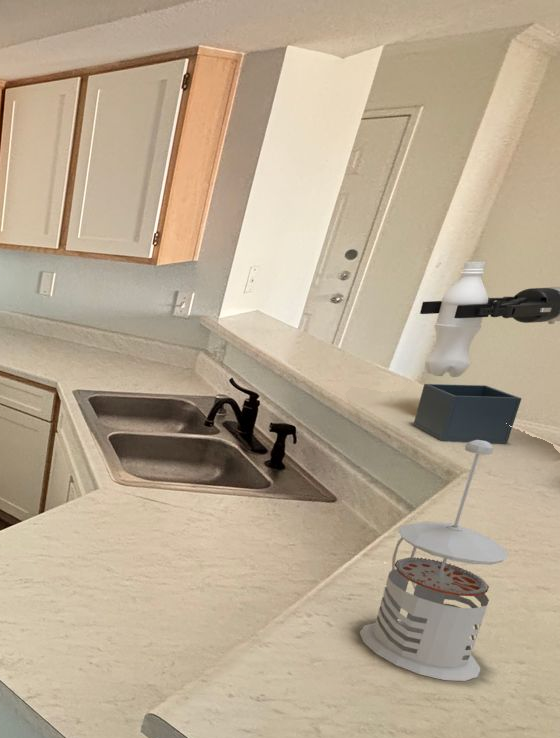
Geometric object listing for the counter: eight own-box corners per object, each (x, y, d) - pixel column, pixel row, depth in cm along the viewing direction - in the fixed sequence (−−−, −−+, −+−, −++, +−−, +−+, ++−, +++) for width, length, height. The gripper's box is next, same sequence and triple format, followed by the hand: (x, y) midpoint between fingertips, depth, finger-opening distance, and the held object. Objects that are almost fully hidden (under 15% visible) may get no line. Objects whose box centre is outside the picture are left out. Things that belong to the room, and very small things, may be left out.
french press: (385, 671, 63) (448, 454, 55) (337, 608, 73) (385, 418, 65) (505, 689, 60) (589, 461, 52) (437, 620, 70) (499, 422, 62)
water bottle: (426, 376, 133) (456, 263, 125) (419, 370, 139) (447, 261, 131) (470, 379, 129) (504, 262, 122) (461, 372, 135) (493, 260, 127)
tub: (473, 428, 130) (486, 385, 127) (507, 443, 121) (521, 398, 118) (413, 425, 134) (424, 383, 131) (441, 440, 124) (453, 396, 121)
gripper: (594, 328, 121) (482, 333, 121) (490, 316, 140) (394, 320, 140) (606, 291, 119) (493, 296, 119) (500, 284, 138) (402, 289, 138)
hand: (439, 309), depth 129 cm, fingers closed on water bottle, 7 cm apart
